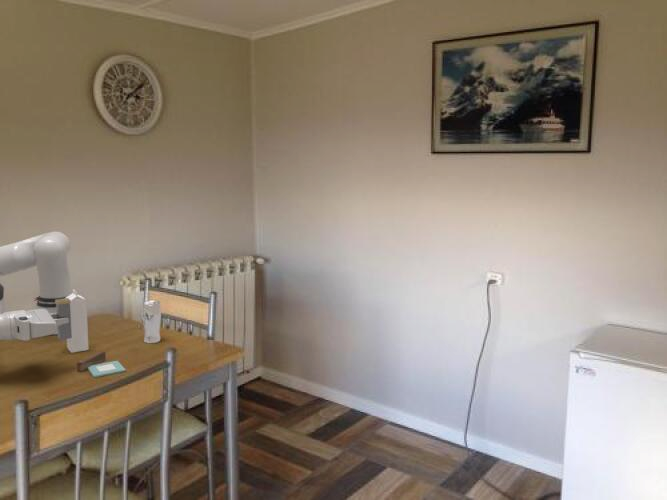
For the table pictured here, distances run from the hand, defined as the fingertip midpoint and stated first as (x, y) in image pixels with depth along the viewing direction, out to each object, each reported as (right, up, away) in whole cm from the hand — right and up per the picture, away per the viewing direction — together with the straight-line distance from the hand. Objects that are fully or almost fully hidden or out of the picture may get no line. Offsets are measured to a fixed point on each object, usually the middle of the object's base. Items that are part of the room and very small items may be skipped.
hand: (66, 318), depth 192 cm
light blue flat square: (+13, -17, +1) cm, 22 cm away
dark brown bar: (+7, -16, +4) cm, 18 cm away
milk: (-5, -14, +19) cm, 24 cm away
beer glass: (+19, -12, +31) cm, 38 cm away
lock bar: (-1, -7, +1) cm, 7 cm away
